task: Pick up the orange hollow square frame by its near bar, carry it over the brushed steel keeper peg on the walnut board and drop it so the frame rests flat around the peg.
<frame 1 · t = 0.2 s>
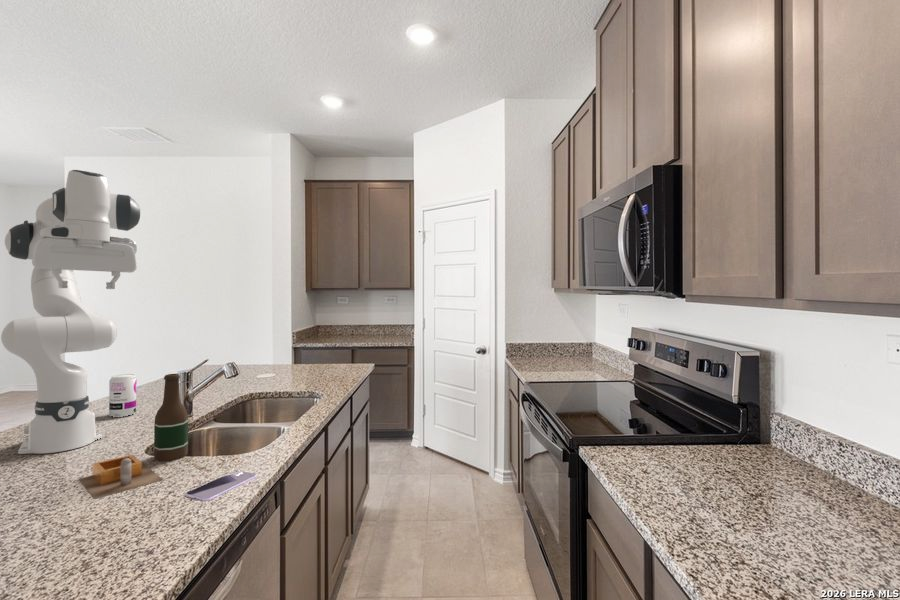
hand: (87, 288, 109), 47 cm above the countertop, tool pointing down, fingers open, 8 cm apart
orange hollow square frame: (117, 475, 105), point 1 cm above the countertop, touching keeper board
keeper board: (121, 485, 102), on the countertop
supplement can: (122, 415, 162), on the countertop
beer bottle: (171, 462, 117), on the countertop
mobile phone: (223, 487, 103), on the countertop
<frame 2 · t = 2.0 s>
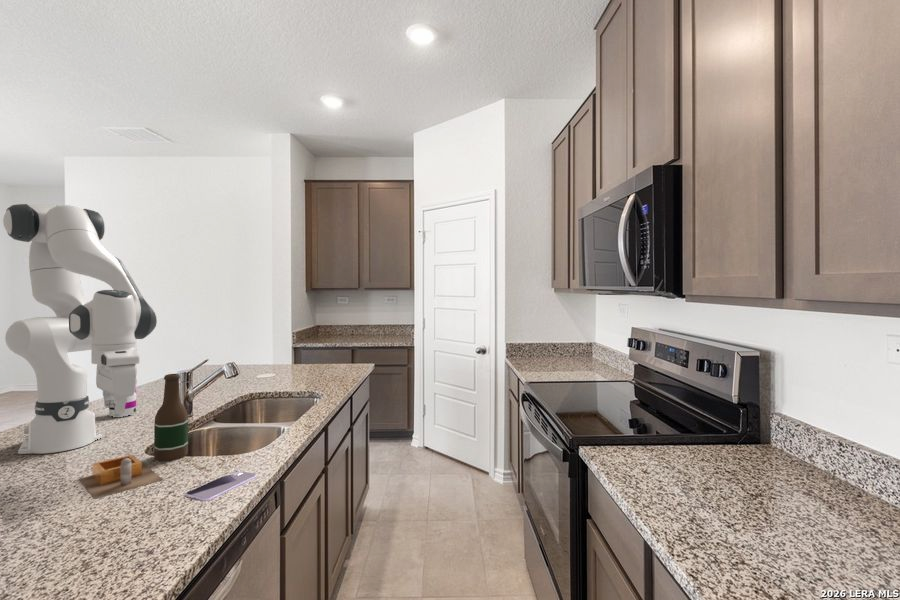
hand: (114, 410, 107), 17 cm above the countertop, tool pointing down, fingers open, 8 cm apart
nothing on the countertop moved.
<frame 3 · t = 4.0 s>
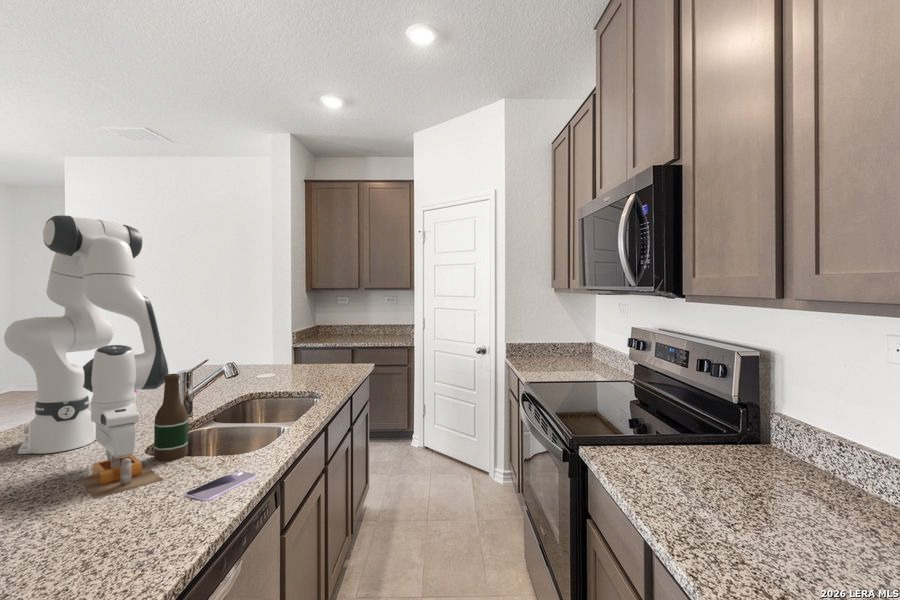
hand: (113, 466, 107), 3 cm above the countertop, tool pointing down, fingers closed on orange hollow square frame
orange hollow square frame: (117, 475, 105), point 2 cm above the countertop, touching gripper, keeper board
everything else where it was.
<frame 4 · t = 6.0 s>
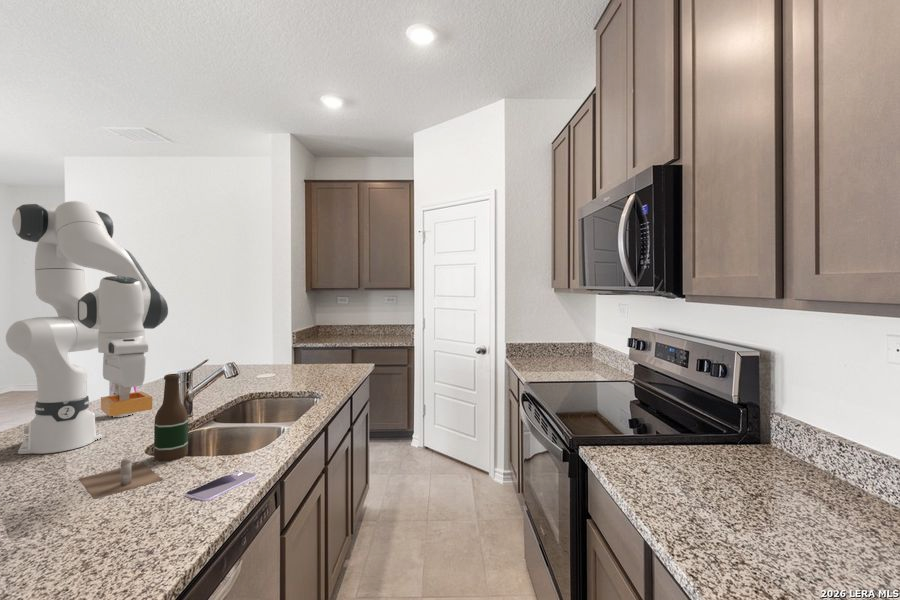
hand: (122, 401, 102), 20 cm above the countertop, tool pointing down, fingers closed on orange hollow square frame
orange hollow square frame: (126, 409, 100), point 19 cm above the countertop, touching gripper
everything else where it was.
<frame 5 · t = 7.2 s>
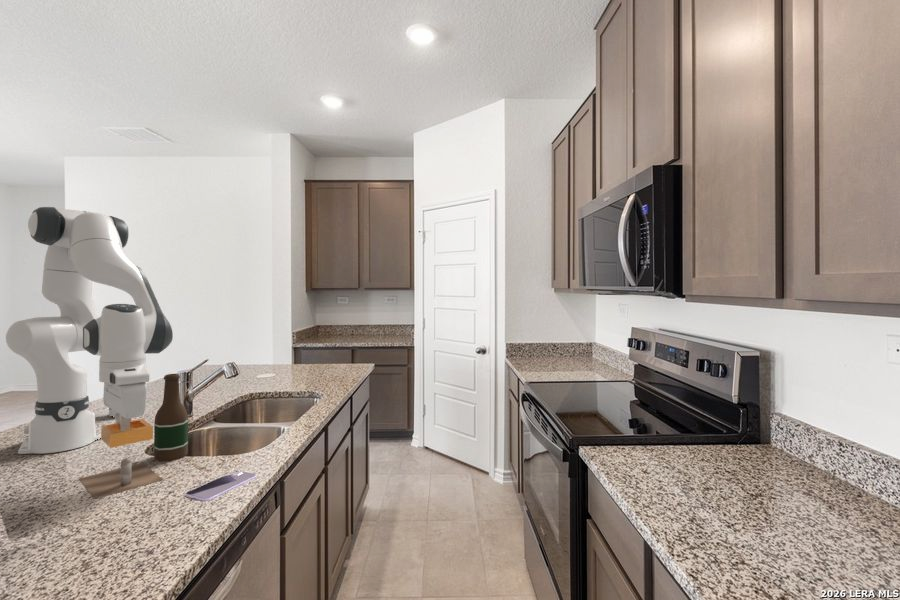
hand: (122, 429, 102), 13 cm above the countertop, tool pointing down, fingers closed on orange hollow square frame
orange hollow square frame: (127, 438, 100), point 12 cm above the countertop, touching gripper
everything else where it was.
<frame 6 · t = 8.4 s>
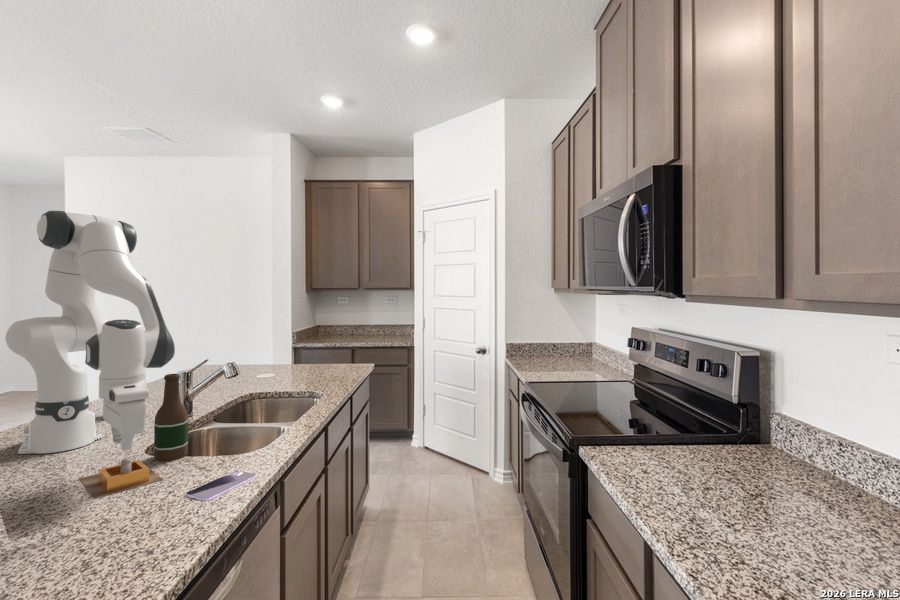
hand: (122, 445, 102), 10 cm above the countertop, tool pointing down, fingers open, 5 cm apart
orange hollow square frame: (123, 481, 101), point 1 cm above the countertop, touching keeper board
everything else where it was.
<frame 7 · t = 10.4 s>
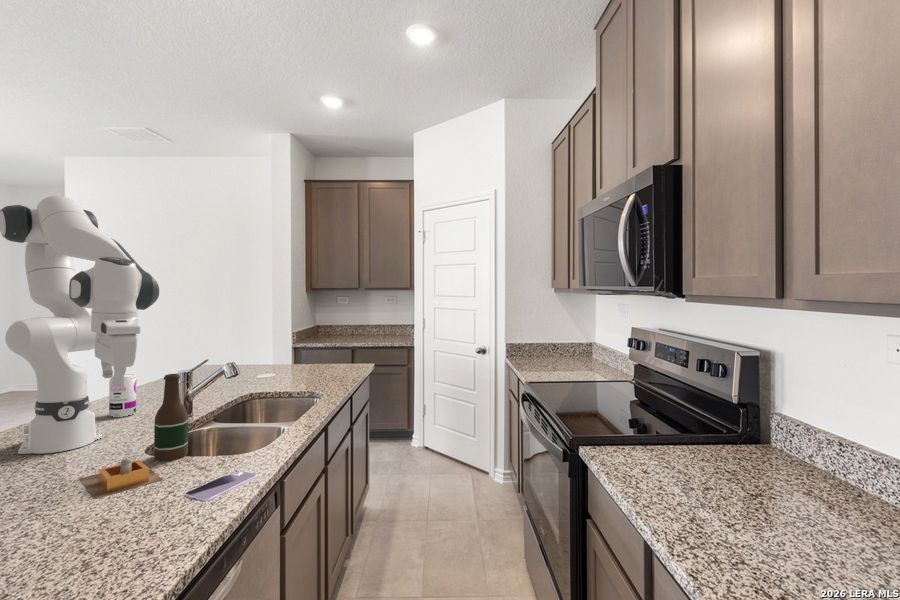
hand: (112, 380, 104), 25 cm above the countertop, tool pointing down, fingers open, 8 cm apart
nothing on the countertop moved.
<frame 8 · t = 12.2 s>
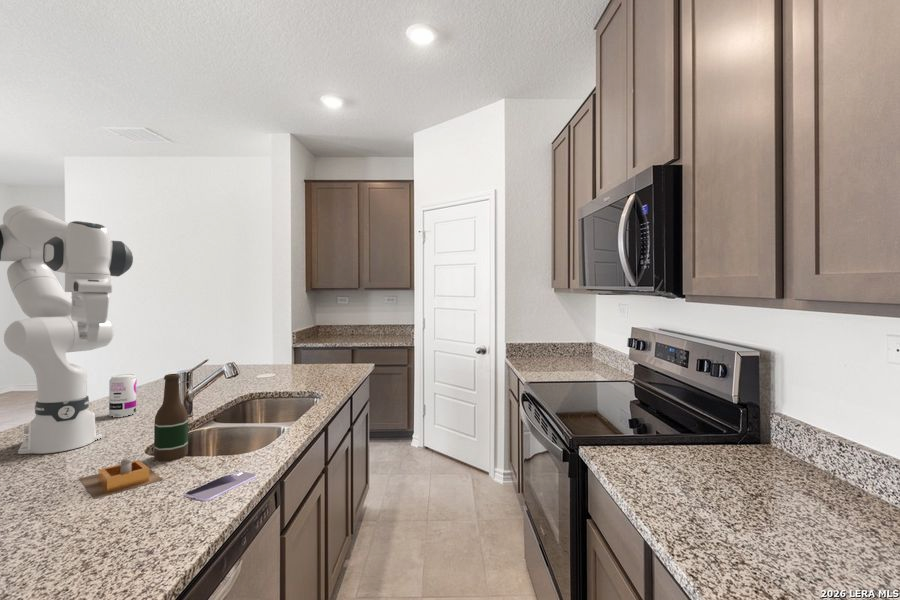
hand: (87, 340, 108), 34 cm above the countertop, tool pointing down, fingers open, 8 cm apart
nothing on the countertop moved.
at the end: orange hollow square frame 1.9 cm from the target spot on the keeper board, point 1.5 cm above the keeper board's base; orange hollow square frame tilted 0°; the gripper is holding nothing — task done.
